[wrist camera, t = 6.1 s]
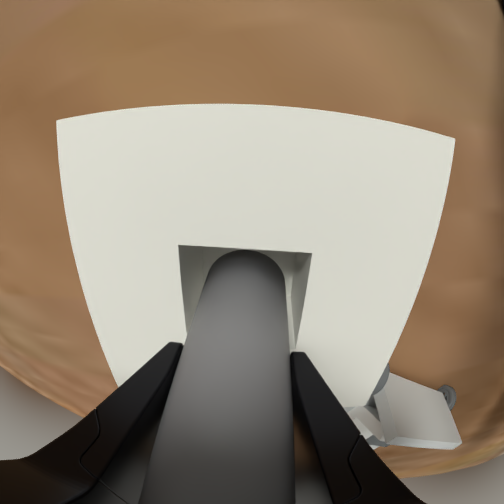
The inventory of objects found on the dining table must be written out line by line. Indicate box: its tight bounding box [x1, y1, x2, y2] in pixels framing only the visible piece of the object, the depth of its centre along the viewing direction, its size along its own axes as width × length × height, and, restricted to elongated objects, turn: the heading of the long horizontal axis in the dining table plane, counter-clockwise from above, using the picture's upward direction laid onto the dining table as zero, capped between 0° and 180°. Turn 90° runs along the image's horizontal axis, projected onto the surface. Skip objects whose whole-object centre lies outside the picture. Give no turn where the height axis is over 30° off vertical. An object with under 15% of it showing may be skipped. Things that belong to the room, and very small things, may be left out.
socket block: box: [57, 104, 455, 407], centre depth 13 cm, size 14×14×5 cm
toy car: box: [343, 363, 462, 450], centre depth 19 cm, size 18×10×12 cm
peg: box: [138, 250, 296, 504], centre depth 8 cm, size 3×3×10 cm
